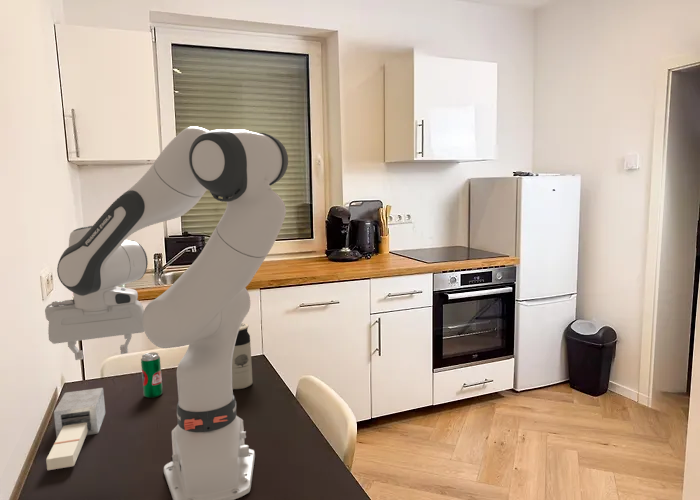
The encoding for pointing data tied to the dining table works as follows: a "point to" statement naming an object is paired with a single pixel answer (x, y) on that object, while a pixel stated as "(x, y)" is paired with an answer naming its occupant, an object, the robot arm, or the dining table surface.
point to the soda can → (151, 375)
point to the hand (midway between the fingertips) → (102, 356)
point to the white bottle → (242, 360)
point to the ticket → (67, 446)
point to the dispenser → (81, 410)
